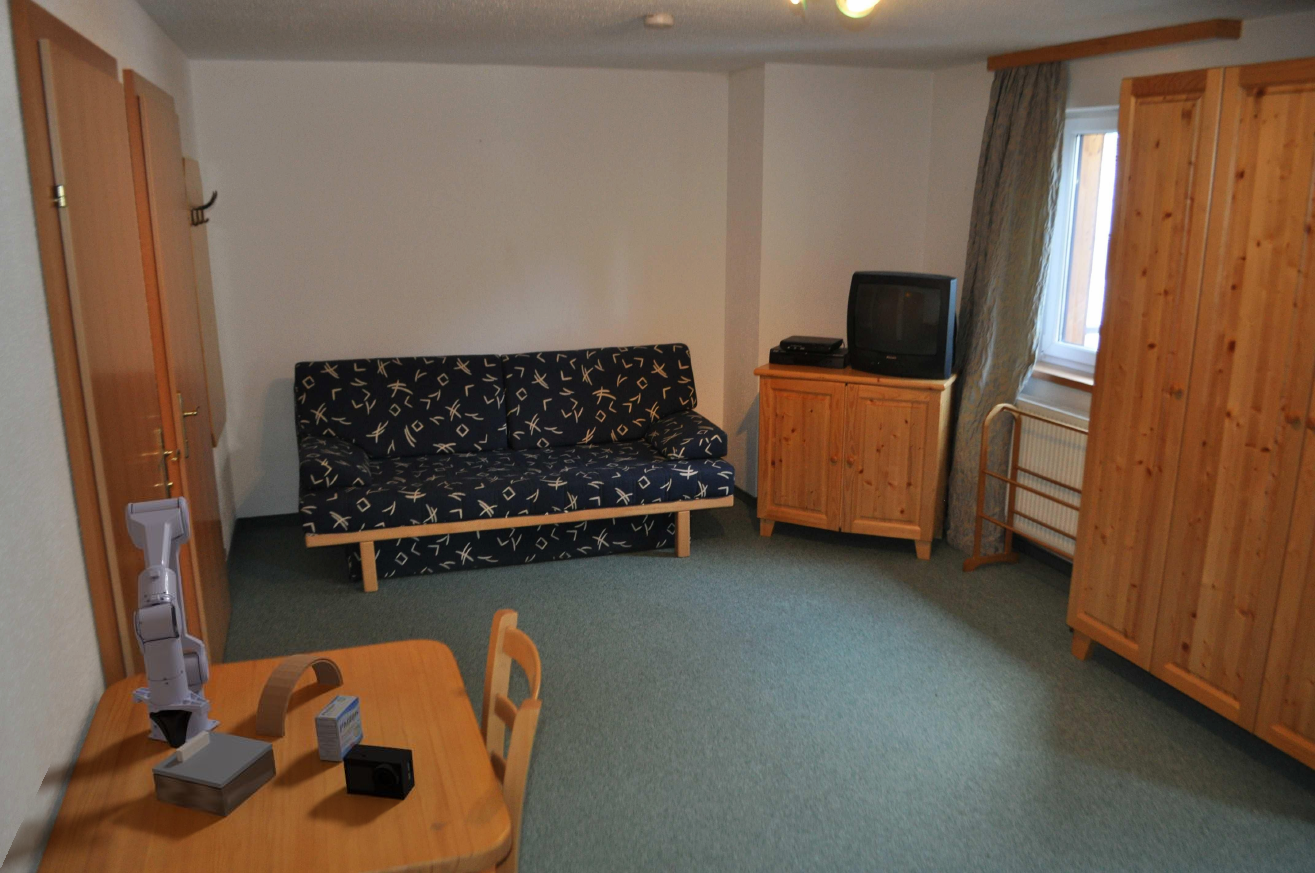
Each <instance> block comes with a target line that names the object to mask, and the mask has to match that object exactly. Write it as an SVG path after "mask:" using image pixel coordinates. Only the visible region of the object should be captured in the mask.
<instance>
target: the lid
mask: <svg viewBox="0 0 1315 873" xmlns="http://www.w3.org/2000/svg"><path fill="white" fill-rule="evenodd" d="M270 749H274V748H273V743H272V742H268V741H262V740H259V739H258V740H257V739H254V738H248V737H245V736H244V737H243V736H239V735H235V734H228V733H226V732H225V733H224V732H219V731H215V730H206V731H202V732H201V733H200V734H198V735H197V736H195V737H194V738H193V739H191V740H190V741H188V742H187V743H185V744H184V745H181V746H180V747H179V748H177V749H175V751H174V752H173V753H172V754H171V755H169V756H168V757H166V758H164V759H163V760H161V761H160V762H158V764H156V765H155V766H153V767H152V768H151V770H152V774H154V773H156V774H161V775H165V776H169V777H174V778H178V779H182V780H187V781H191V782H195V783H200V784H204V785H208V786H213V787H217V788H223V787H224V786H225V785H226V784H228V783H229V782H230V781H231V780H233V779H234V778H235V777H236V776H238V775H239V774H240V773H241V772H243V771H244V770H245V769H246V768H248V767H249V766H250V765H251V764H253V763H254V762H255V761H256V760H258V759H259V758H260V757H261V756H263V755H264V754H265V753H267V752H268V751H269V750H270Z"/></svg>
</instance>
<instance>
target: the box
mask: <svg viewBox="0 0 1315 873" xmlns="http://www.w3.org/2000/svg"><path fill="white" fill-rule="evenodd" d="M152 776H153V781H154V788H155V789H154V790H155V793H156V800H157V802H162V803H164V804H165V803H166V804H170V805H174V806H178V807H182V808H187V809H190V810H194V811H198V812H202V813H203V812H204V813H207V814H212V815H215V816H219V817H223V818H227V817H228V816H229V815H230V814H232V813H233V812H234V811H235V810H236V809H237V808H239V807H240V806H241V805H242V804H244V802H246V801H247V800H248V799H249V798H250V797H252V796H253V795H254V794H255V793H257V792H258V791H259V790H260V789H261V788H262V787H263V786H265V785H266V784H267V783H269V782H270V781H271V780H272V779H273V778H274V777H276V776H277V769H276V762H275V754H274V748H272V749H270V750H269V751H268V752H267V753H265V754H264V755H263V756H261V757H260V758H259V759H258V760H256V761H255V762H254V763H253V764H251V765H250V766H249V767H248V768H246V769H245V770H244V771H243V772H241V773H240V774H239V775H238V776H236V777H235V778H234V779H233V780H231V781H230V782H229V783H228V784H226V785H225V786H224V787H223V788H217V787H213V786H208V785H204V784H200V783H195V782H191V781H187V780H182V779H178V778H174V777H169V776H165V775H161V774H156V773H152Z"/></svg>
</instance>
